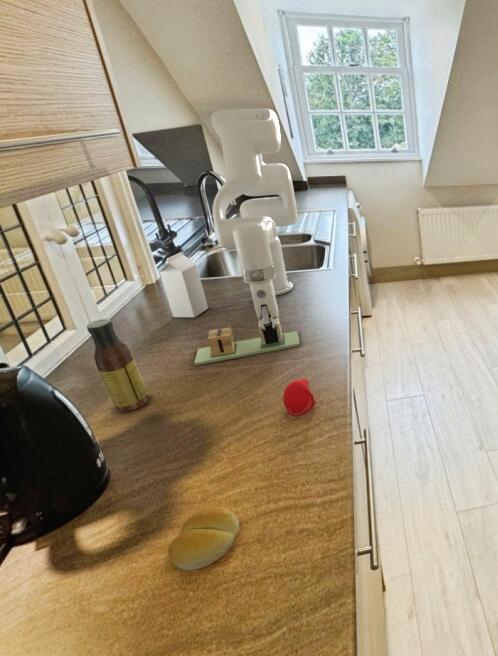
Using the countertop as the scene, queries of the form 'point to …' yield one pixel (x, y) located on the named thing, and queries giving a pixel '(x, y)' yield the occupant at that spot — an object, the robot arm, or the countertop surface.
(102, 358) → the sauce bottle
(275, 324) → the letter T
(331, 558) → the countertop surface
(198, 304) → the milk carton
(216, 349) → the letter I
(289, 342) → the word mat
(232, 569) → the countertop surface
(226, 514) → the bread roll
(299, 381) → the cap
